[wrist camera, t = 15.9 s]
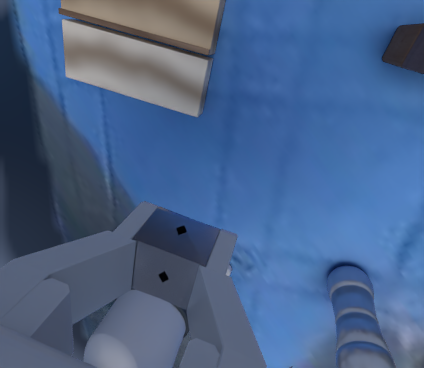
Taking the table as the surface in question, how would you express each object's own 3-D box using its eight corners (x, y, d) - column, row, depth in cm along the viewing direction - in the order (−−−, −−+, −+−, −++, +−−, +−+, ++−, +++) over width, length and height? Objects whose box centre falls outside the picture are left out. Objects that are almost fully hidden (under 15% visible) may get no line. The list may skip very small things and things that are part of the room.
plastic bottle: (324, 288, 48) (338, 428, 31) (326, 257, 45) (344, 394, 28) (366, 293, 46) (406, 445, 29) (372, 261, 43) (420, 411, 26)
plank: (202, 112, 39) (197, 117, 37) (76, 74, 42) (65, 76, 40) (213, 58, 35) (208, 60, 33) (74, 19, 38) (62, 19, 36)
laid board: (214, 53, 35) (207, 55, 33) (75, 15, 38) (58, 13, 35) (228, -13, 32) (221, -17, 29) (73, -51, 34) (54, -58, 31)
